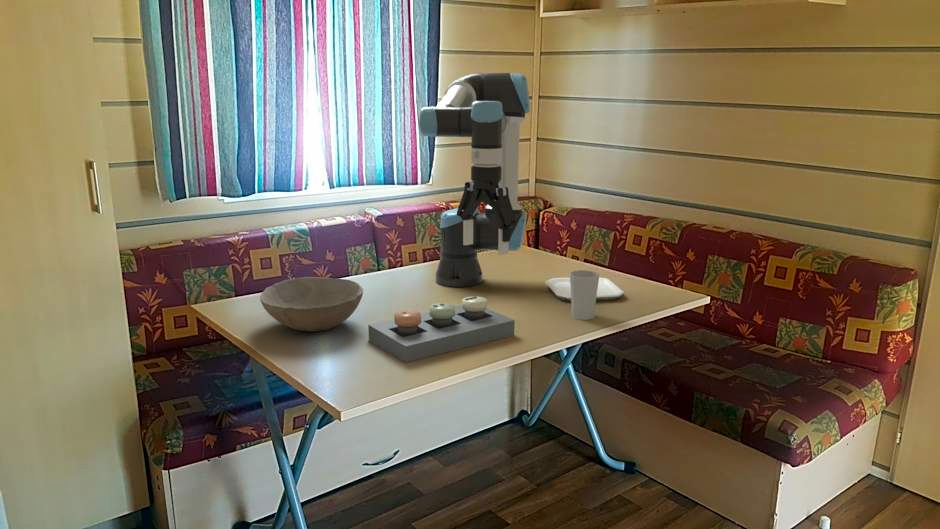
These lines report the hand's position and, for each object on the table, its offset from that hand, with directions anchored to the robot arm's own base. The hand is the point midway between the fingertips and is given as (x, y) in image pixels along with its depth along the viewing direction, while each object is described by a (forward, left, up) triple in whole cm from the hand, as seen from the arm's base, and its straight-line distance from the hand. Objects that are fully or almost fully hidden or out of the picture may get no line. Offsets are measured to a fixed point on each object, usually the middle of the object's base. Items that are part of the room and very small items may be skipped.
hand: (485, 249), depth 184 cm
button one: (-1, -23, -18) cm, 29 cm away
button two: (-1, -13, -18) cm, 22 cm away
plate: (-9, +44, -22) cm, 50 cm away
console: (-1, -13, -21) cm, 25 cm away
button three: (-1, -3, -18) cm, 18 cm away
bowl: (-27, -36, -22) cm, 49 cm away
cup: (+7, +28, -22) cm, 36 cm away
